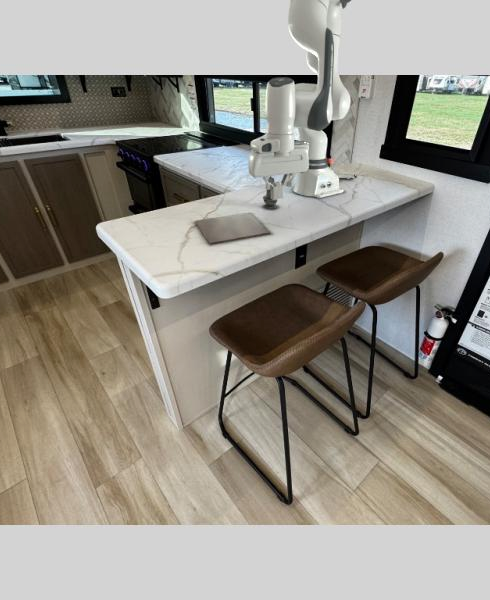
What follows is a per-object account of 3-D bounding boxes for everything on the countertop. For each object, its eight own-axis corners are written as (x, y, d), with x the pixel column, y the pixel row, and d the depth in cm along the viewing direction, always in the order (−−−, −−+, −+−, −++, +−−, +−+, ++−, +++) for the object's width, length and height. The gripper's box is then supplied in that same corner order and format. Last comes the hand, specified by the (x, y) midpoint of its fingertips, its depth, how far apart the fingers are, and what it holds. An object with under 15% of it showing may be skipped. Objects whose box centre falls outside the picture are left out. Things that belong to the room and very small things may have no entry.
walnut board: (250, 214, 115) (250, 212, 115) (270, 234, 103) (270, 232, 102) (195, 222, 108) (195, 220, 107) (210, 244, 95) (210, 243, 95)
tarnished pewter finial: (270, 203, 125) (271, 171, 118) (281, 207, 122) (282, 175, 115) (259, 206, 122) (259, 174, 115) (269, 210, 119) (269, 178, 112)
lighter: (273, 200, 105) (273, 175, 100) (270, 198, 106) (270, 173, 101) (290, 196, 109) (291, 172, 104) (287, 194, 110) (288, 170, 105)
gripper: (304, 138, 103) (301, 181, 111) (245, 142, 95) (247, 188, 104) (314, 142, 99) (310, 186, 107) (253, 147, 91) (254, 194, 99)
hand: (279, 187), depth 105 cm, fingers closed on lighter, 6 cm apart
